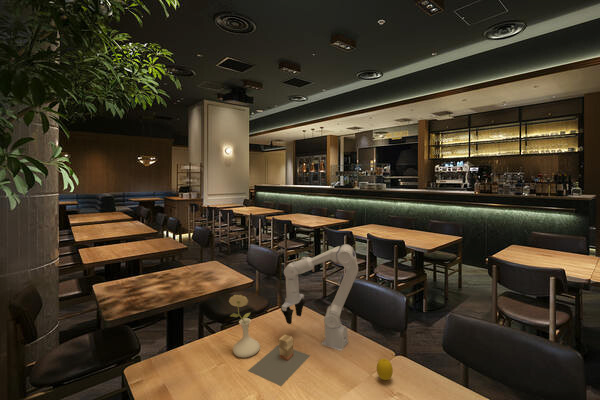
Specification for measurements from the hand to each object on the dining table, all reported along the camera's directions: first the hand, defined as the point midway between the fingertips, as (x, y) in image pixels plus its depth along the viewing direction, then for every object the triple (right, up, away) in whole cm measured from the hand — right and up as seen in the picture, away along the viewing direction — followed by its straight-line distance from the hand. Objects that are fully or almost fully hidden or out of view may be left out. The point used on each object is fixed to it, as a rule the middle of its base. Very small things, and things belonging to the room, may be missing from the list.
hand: (294, 319), depth 132 cm
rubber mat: (-5, -11, -16) cm, 20 cm away
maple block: (-3, -10, -12) cm, 16 cm away
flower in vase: (-21, -11, -7) cm, 25 cm away
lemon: (+33, -11, -26) cm, 44 cm away
